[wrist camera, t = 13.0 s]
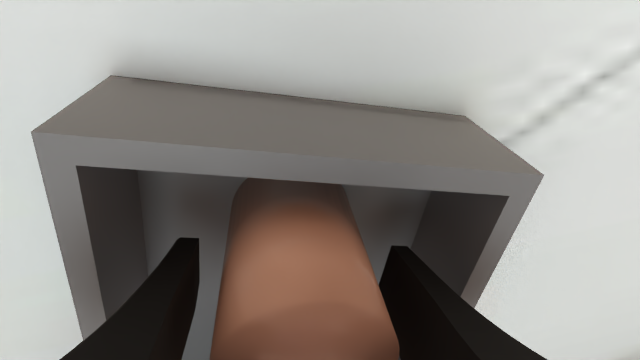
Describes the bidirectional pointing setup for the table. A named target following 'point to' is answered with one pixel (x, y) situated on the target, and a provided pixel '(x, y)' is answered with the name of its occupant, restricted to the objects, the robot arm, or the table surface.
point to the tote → (267, 163)
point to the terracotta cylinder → (298, 279)
